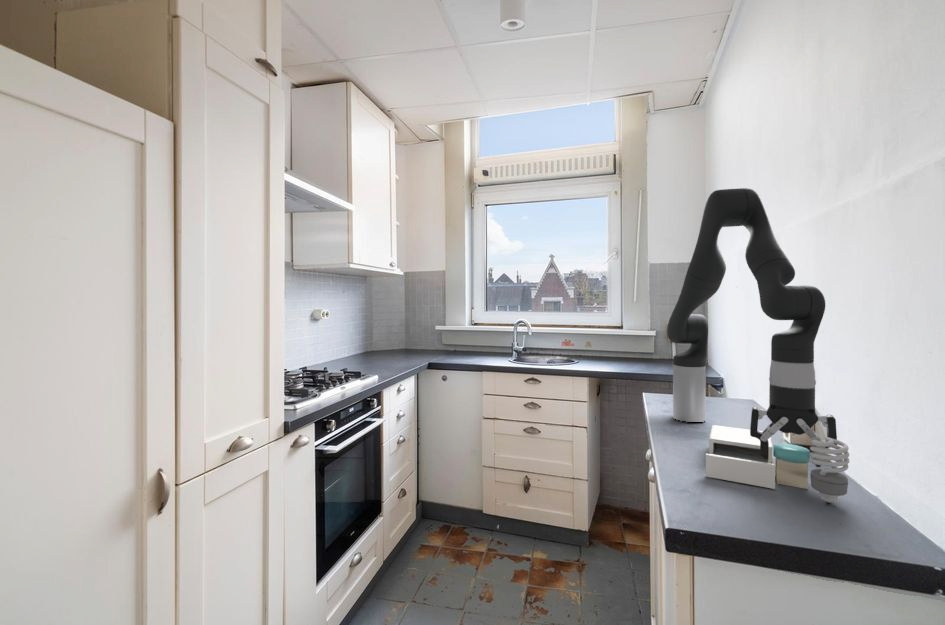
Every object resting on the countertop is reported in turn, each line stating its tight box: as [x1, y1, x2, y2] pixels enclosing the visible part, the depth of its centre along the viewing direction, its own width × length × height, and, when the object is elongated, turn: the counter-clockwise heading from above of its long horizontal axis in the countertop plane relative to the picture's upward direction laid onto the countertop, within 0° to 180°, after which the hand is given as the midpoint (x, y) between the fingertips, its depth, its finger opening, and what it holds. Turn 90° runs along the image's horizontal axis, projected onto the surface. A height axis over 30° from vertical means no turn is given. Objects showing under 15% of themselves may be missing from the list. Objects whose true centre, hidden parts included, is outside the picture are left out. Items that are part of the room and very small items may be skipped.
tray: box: [705, 449, 776, 490], centre depth 94 cm, size 13×12×5 cm
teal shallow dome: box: [772, 442, 811, 463], centre depth 89 cm, size 6×6×2 cm
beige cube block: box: [774, 457, 809, 490], centre depth 89 cm, size 5×5×5 cm
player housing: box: [708, 424, 773, 464], centre depth 102 cm, size 13×12×6 cm
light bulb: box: [809, 436, 850, 504], centre depth 79 cm, size 6×6×12 cm
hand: (791, 462), depth 89 cm, fingers open, 8 cm apart
